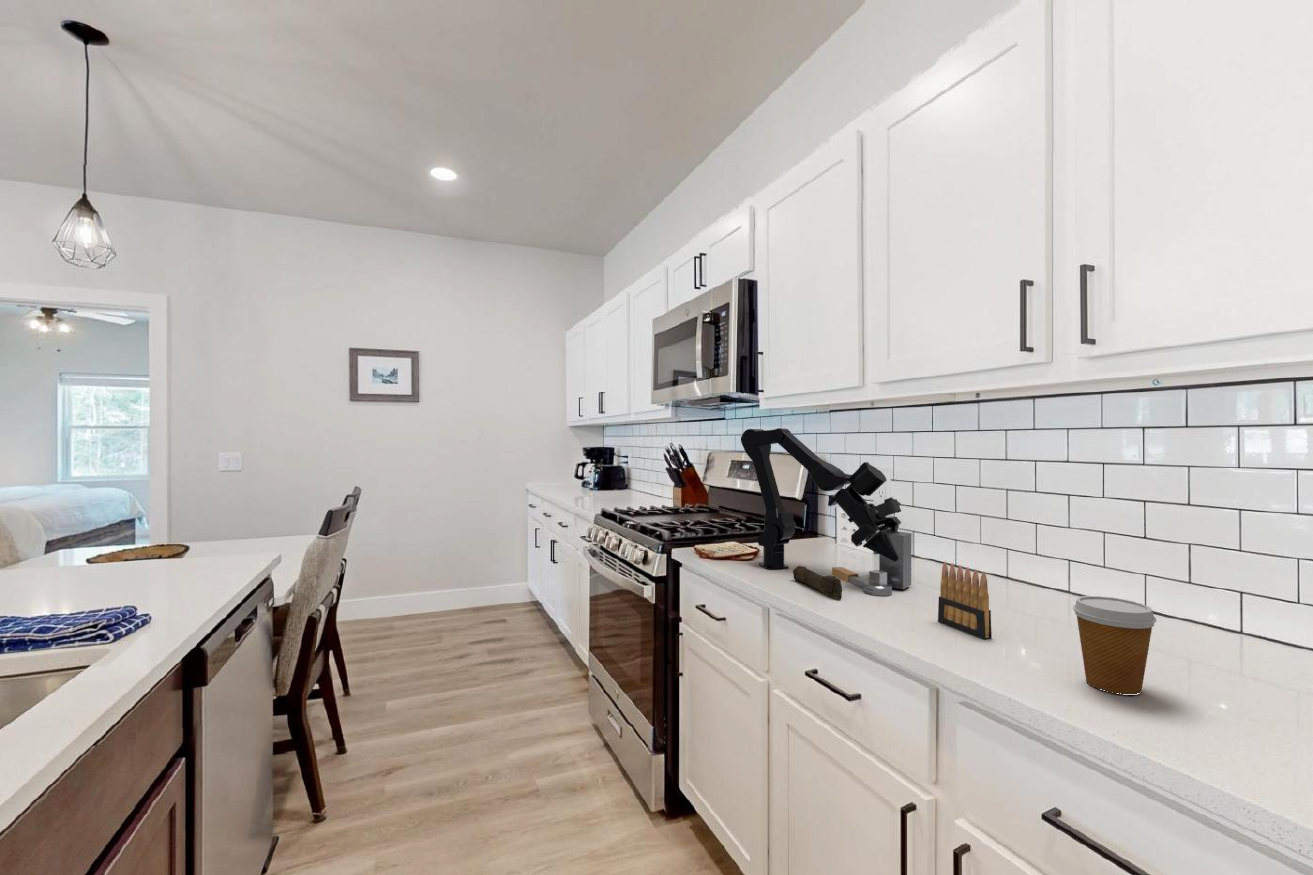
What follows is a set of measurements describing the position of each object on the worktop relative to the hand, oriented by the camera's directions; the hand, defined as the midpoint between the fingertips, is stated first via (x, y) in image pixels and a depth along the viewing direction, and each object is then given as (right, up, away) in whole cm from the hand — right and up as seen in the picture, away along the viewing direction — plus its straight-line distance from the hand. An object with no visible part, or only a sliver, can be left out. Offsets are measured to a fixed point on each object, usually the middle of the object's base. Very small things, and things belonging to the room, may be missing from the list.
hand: (901, 558), depth 138 cm
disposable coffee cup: (+8, -7, -55) cm, 56 cm away
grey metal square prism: (-1, -7, +1) cm, 7 cm away
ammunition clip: (-1, -7, -30) cm, 31 cm away
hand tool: (-20, -8, -1) cm, 21 cm away
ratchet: (-9, -7, +4) cm, 12 cm away
